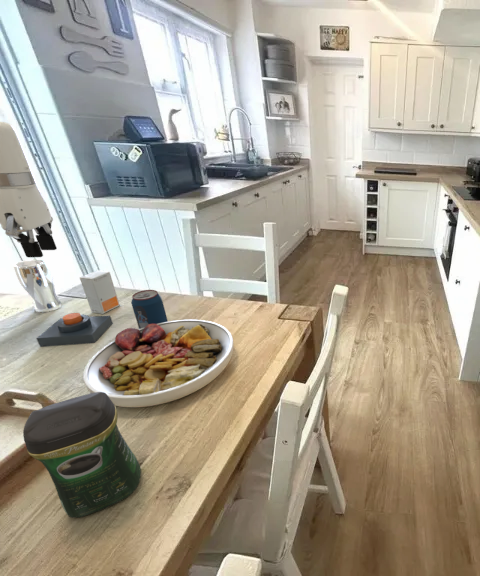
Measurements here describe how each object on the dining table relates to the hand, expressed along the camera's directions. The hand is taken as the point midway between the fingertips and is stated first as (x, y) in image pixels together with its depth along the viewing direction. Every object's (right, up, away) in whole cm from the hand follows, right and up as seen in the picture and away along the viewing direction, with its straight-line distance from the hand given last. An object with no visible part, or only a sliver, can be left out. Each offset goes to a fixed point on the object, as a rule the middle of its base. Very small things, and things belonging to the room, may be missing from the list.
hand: (42, 252), depth 83 cm
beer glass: (-16, -16, +17) cm, 28 cm away
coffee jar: (+43, -43, -30) cm, 68 cm away
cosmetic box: (0, -16, +19) cm, 25 cm away
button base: (+3, -22, +6) cm, 23 cm away
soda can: (+22, -22, +10) cm, 33 cm away
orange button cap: (+4, -18, +5) cm, 19 cm away
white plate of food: (+35, -29, -3) cm, 46 cm away
